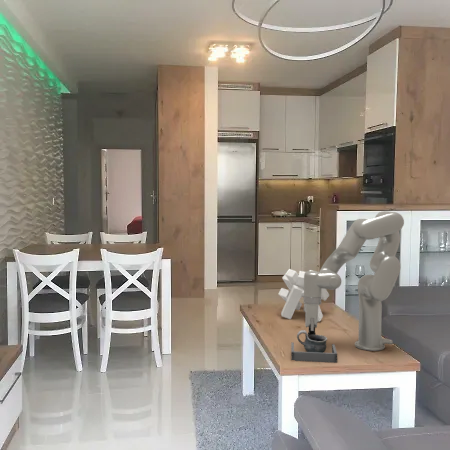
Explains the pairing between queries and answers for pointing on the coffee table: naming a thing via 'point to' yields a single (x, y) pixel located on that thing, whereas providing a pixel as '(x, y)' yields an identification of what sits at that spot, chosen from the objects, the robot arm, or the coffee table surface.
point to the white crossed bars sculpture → (296, 293)
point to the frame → (314, 355)
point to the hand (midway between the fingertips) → (311, 341)
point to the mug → (313, 342)
